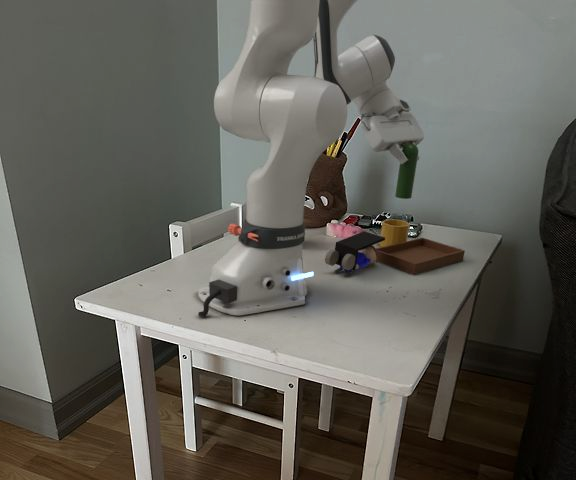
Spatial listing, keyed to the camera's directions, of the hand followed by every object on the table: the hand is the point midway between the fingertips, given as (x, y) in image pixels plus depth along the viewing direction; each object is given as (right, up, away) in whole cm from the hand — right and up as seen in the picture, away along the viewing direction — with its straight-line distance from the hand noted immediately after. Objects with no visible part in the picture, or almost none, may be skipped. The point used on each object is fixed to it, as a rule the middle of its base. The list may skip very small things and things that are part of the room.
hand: (410, 161), depth 133 cm
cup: (-2, -17, +12) cm, 21 cm away
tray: (+2, -23, +3) cm, 23 cm away
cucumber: (-1, -7, +5) cm, 8 cm away
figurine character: (-15, -28, -6) cm, 32 cm away
